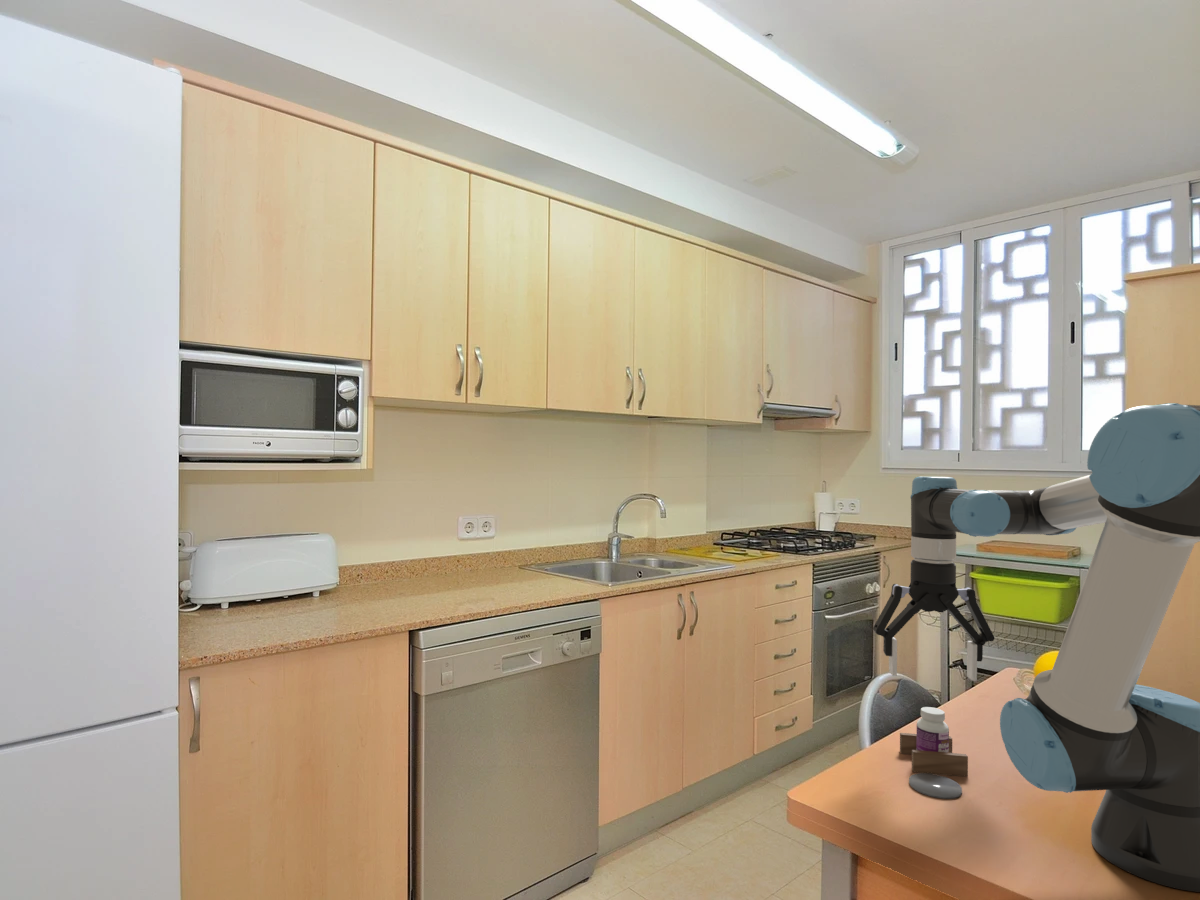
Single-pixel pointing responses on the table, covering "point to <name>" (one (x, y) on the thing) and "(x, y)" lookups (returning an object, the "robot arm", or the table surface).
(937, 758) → the rail cradle
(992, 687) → the table surface
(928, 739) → the pill bottle
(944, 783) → the coaster
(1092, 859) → the table surface
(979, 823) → the table surface
